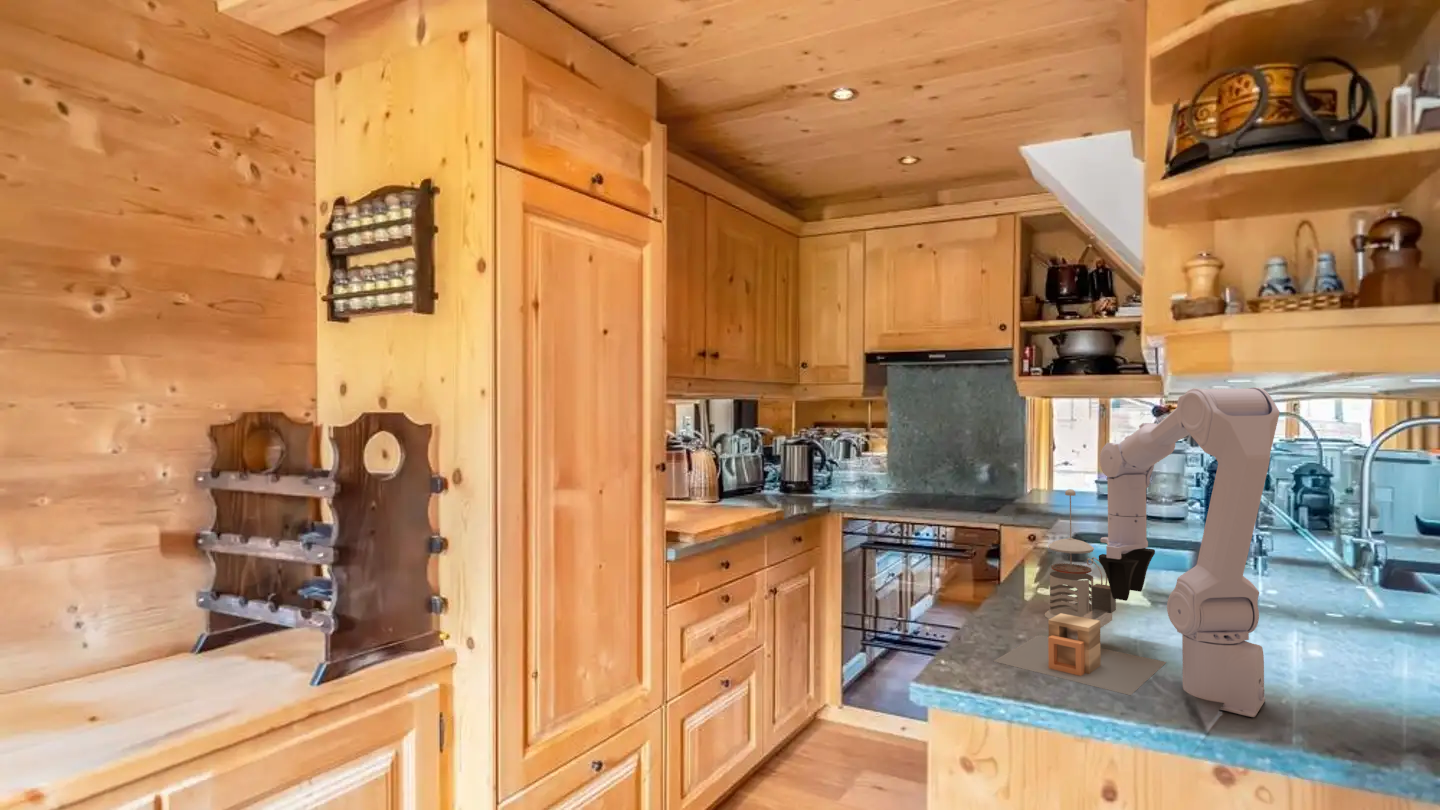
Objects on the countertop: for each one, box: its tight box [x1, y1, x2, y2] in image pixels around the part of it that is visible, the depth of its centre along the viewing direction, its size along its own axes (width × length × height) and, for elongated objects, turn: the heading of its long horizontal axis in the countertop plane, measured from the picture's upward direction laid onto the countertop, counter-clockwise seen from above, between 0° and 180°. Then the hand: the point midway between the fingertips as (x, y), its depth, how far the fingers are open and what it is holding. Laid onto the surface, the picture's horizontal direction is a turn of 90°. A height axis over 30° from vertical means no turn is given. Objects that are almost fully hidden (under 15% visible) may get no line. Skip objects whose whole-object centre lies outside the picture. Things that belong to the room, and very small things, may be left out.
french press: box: [1044, 488, 1108, 620], centre depth 144 cm, size 10×12×25 cm
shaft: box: [1067, 583, 1117, 640], centre depth 122 cm, size 3×15×6 cm, turn 135°
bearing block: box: [1047, 613, 1101, 674], centre depth 117 cm, size 6×5×7 cm
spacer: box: [1047, 635, 1085, 676], centre depth 114 cm, size 5×2×5 cm, turn 46°
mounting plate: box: [992, 634, 1167, 696], centre depth 118 cm, size 20×18×1 cm
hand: (1127, 594), depth 126 cm, fingers open, 7 cm apart
